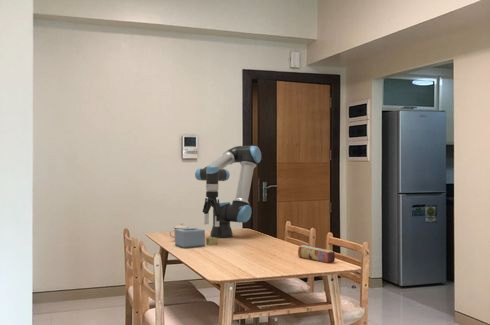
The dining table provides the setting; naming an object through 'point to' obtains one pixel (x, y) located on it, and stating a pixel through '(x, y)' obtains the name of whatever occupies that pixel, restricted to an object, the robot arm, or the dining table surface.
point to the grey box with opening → (190, 237)
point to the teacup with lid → (178, 228)
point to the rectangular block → (211, 241)
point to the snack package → (316, 254)
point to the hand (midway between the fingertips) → (211, 225)
